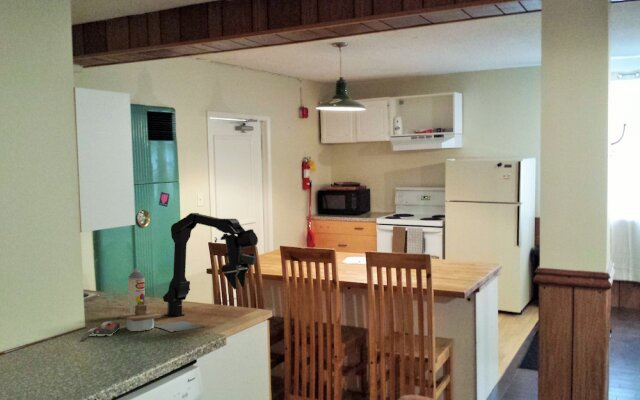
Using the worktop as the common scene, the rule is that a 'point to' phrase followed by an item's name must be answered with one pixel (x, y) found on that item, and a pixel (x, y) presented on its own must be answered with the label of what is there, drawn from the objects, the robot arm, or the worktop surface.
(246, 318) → the worktop surface
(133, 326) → the bowl
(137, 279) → the aerosol can
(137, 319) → the lid
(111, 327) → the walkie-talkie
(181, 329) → the mat
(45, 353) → the worktop surface
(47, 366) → the worktop surface
